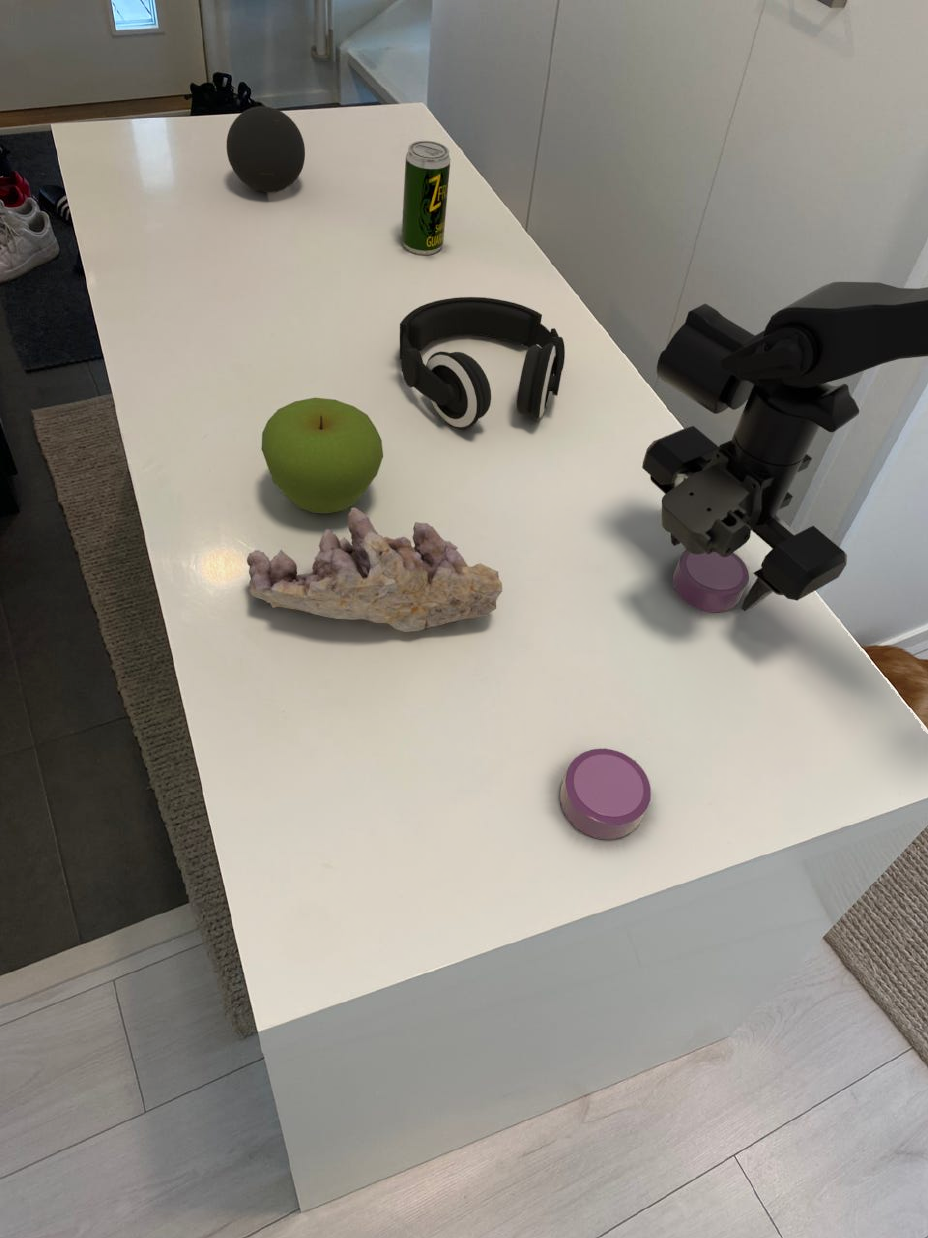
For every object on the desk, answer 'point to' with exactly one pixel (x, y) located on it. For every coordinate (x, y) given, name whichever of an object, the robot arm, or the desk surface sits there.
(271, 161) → the speaker
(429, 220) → the green energy drink can
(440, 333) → the headphones
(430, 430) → the desk surface
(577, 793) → the dish
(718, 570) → the dish
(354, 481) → the apple
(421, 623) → the mineral specimen
